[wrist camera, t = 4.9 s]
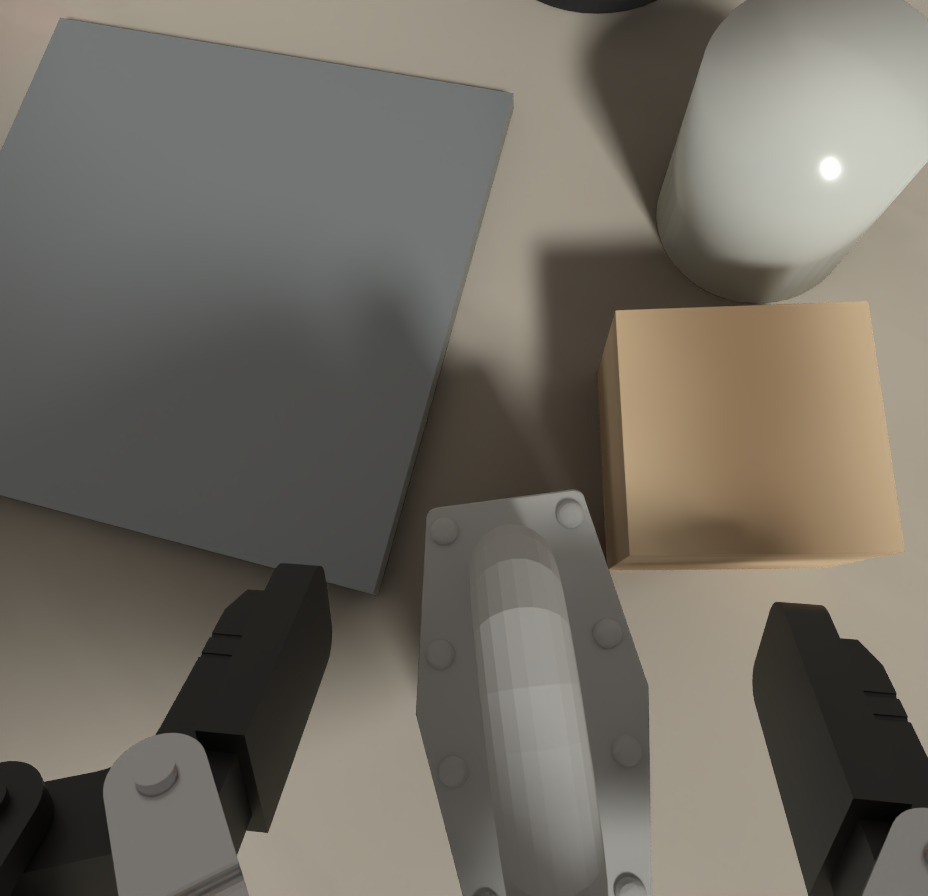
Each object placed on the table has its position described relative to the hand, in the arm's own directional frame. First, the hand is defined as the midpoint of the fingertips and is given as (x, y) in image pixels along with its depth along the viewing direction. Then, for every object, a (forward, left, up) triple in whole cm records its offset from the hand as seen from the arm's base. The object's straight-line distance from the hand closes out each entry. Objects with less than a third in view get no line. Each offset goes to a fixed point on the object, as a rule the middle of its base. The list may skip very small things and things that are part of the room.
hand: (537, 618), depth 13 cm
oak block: (+3, +5, -5) cm, 7 cm away
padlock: (0, -1, -5) cm, 5 cm away
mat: (-11, +7, -5) cm, 14 cm away
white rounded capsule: (+3, +12, -5) cm, 13 cm away
